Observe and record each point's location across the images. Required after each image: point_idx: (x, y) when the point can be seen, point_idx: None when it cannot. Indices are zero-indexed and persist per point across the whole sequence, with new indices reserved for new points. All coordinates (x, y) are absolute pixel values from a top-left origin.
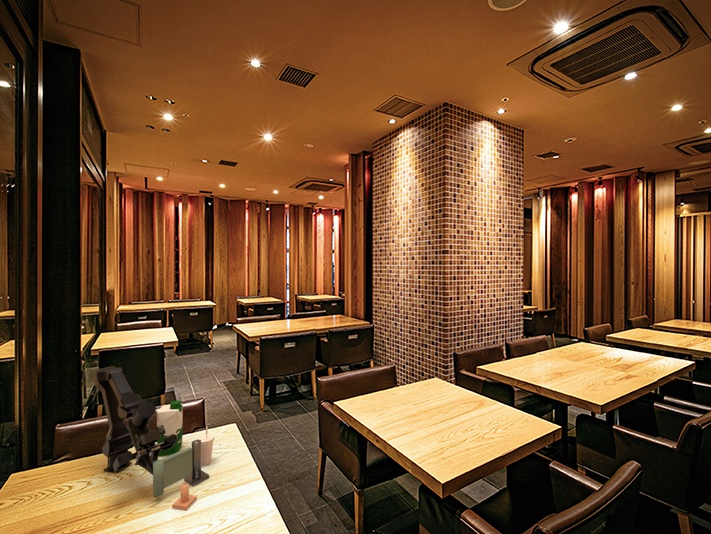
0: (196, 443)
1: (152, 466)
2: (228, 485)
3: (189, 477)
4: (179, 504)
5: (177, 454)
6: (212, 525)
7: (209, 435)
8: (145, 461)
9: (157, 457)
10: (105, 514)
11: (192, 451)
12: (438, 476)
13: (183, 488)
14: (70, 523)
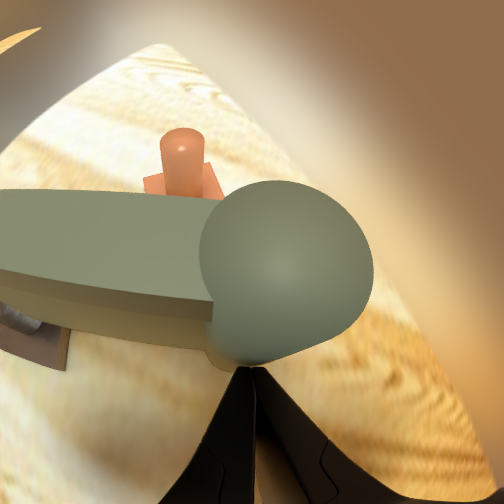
0: None
1: (285, 424)
2: (46, 169)
3: (45, 337)
4: (215, 190)
5: (6, 202)
6: (214, 91)
7: None
8: (389, 491)
9: (178, 495)
10: (411, 428)
11: None
12: (35, 31)
13: (200, 135)
14: (468, 449)
